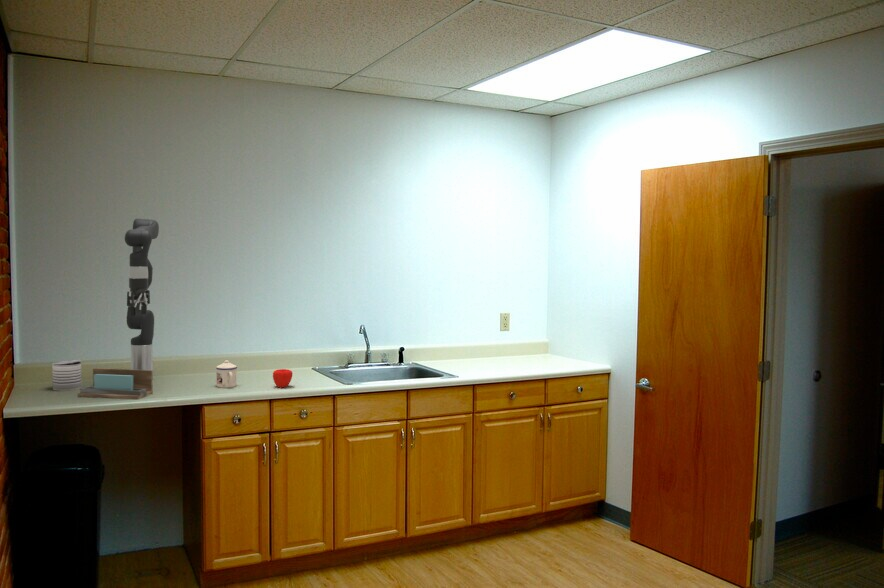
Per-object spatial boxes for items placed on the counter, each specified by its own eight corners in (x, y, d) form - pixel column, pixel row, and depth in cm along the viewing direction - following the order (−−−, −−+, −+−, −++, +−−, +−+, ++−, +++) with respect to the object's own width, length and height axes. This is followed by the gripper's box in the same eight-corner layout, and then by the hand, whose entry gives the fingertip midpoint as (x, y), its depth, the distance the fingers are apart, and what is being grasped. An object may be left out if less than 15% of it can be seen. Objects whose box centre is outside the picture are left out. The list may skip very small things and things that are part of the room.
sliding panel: (97, 391, 295) (96, 373, 294) (133, 393, 293) (133, 375, 293) (94, 392, 293) (94, 374, 293) (130, 394, 291) (130, 376, 291)
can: (67, 391, 300) (66, 363, 299) (45, 389, 303) (45, 361, 302) (87, 386, 311) (87, 359, 310) (67, 385, 314) (66, 358, 313)
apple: (295, 387, 319) (295, 370, 319) (276, 389, 315) (276, 371, 314) (288, 384, 327) (288, 367, 326) (270, 385, 322) (270, 368, 322)
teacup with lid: (213, 385, 321) (213, 359, 320) (233, 383, 326) (233, 358, 325) (221, 389, 311) (221, 363, 310) (241, 388, 316) (241, 362, 315)
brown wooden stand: (94, 391, 302) (94, 367, 301) (152, 393, 299) (152, 370, 299) (77, 396, 290) (77, 372, 289) (137, 399, 287) (137, 375, 287)
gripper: (139, 276, 306) (139, 313, 307) (120, 277, 292) (121, 316, 293) (155, 277, 305) (155, 314, 306) (138, 278, 291) (138, 317, 292)
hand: (138, 315), depth 300 cm, fingers open, 8 cm apart
